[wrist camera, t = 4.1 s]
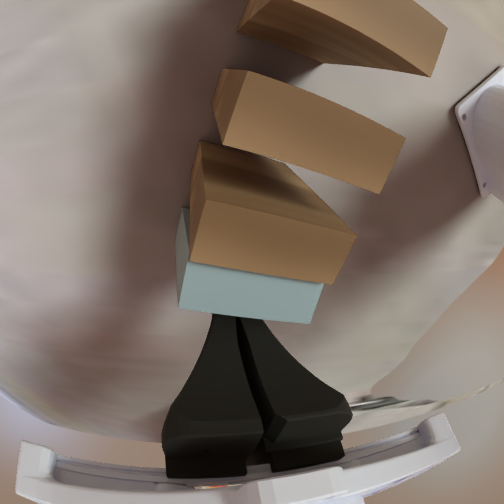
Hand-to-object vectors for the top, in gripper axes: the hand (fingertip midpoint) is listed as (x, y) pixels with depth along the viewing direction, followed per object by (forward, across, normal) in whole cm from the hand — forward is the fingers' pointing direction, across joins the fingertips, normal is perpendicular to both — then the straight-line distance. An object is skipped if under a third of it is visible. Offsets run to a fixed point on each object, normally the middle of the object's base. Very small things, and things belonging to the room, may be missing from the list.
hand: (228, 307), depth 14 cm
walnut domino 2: (+7, -1, -8) cm, 11 cm away
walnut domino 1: (+7, -2, -12) cm, 14 cm away
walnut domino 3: (+7, -1, -4) cm, 8 cm away
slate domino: (+6, 0, 0) cm, 6 cm away
